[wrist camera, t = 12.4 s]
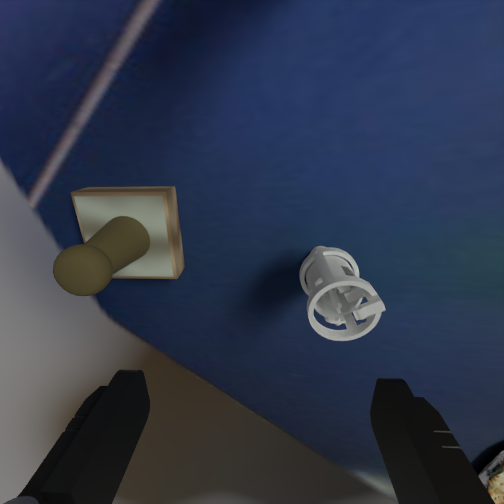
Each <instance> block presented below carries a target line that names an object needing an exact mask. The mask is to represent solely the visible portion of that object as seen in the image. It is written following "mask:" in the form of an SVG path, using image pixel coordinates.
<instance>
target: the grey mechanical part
mask: <svg viewBox="0 0 504 504" xmlns="http://www.w3.org/2000/svg"><path fill="white" fill-rule="evenodd" d="M344 258H345V259H347V260H348V261H349V262H350V263H351V265H352V269H351V267H350V265H349V264H348V262H347V261H346V260H345V259H344ZM305 272H306V274H305ZM346 273H347V275H346ZM305 275H306V281H307V284H308V286H307V285H306V283H305V281H304V276H305ZM299 276H300V282H301V286H302V288H303V290H304V291H305V293H306V294H307V295H308V296H309V298H308V302H307V313H308V317H309V321H310V324H311V326H312V327H313V329H314V330H315V331H316V332H317V333H318V334H320V335H321V336H323V337H325V338H327V339H331V340H335V341H348V340H353V339H356V338H359V337H361V336H363V335H365V334H367V333H368V332H369V331H371V330H372V329H373V328H374V327H375V325H376V324H377V322H378V321H379V319H380V316H381V312H382V311H385V306H384V304H383V302H382V300H381V299H380V297H379V296H378V294H377V293H376V292H375V290H374V289H373V287H372V286H371V284H370V283H369V282H366V281H365V280H363V279H361V278H359V269H358V266H357V264H356V263H355V261H354V260H353V258H352V257H351V256H350V255H349V254H348V253H347V252H345V251H343V250H341V249H338V248H326V247H324V246H318V247H315V248H313V249H312V250H311V252H310V255H309V256H308V257H307V258H306V259H305V260H304V261H303V263H302V265H301V268H300V273H299ZM317 285H318V286H317ZM316 286H317V287H316ZM365 296H366V298H367V300H368V301H369V302H366V303H364V304H361V305H359V304H360V303H361V301H362V298H363V297H365ZM314 308H315V309H316V311H317V312H318V313H320V314H321V315H323V316H324V317H325V320H326V322H329V323H334V324H336V325H337V326H338V325H341V324H342V323H345V325H346V327H347V330H332V329H328V328H326V327H324V326H322V325H321V324H319V323H318V322H317V321H316V319H315V318H314V316H313V311H314ZM351 312H353V314H354V316H355V318H356V320H359V319H361V320H362V319H364V318H366V322H365V323H361V324H359V325H358V326H357V324H356V322H355V320H354V318H353V316H352V314H351ZM367 316H368V317H367Z"/></svg>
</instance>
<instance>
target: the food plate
mask: <svg viewBox="0 0 504 504" xmlns="http://www.w3.org/2000/svg"><path fill="white" fill-rule="evenodd" d="M478 476H479V478H480V480H481V481H482V483H483V484H484V486H485V488H486V489H487V491H488V493H489V494H490V496H491V497H492V499H493V501H494V502H495V504H504V451H501V452H500V453H499V454H498V456H496V458H495V459H494V460H492V462H491V463H488V465H487V466H486V467H485V468H484V469H483V471H481V473H480V474H479V475H478Z"/></svg>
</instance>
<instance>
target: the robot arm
mask: <svg viewBox="0 0 504 504" xmlns="http://www.w3.org/2000/svg"><path fill="white" fill-rule="evenodd" d="M149 410H150V399H149V395H148V390H147V386H146V381H145V377H144V373H143V371H141V370H119V371H117V373H116V374H115V375H114V377H113V378H112V380H111V381H110V383H109V385H108V386H100V387H99V388H98V389H97V390H96V391H95V392H93V393H92V394H91V395H90V396H89V397H88V398H87V399H86V400H85V401H84V402H83V404H82V405H81V407H80V408H79V410H78V411H77V413H76V414H75V417H74V418H72V420H71V421H70V423H69V424H68V426H67V427H66V430H65V432H63V433H62V434H61V436H60V437H59V439H58V440H57V442H56V443H55V445H54V446H53V448H52V449H51V450H50V452H49V453H48V455H47V456H46V458H45V459H44V461H43V462H42V463H41V465H40V466H39V468H38V469H37V471H36V472H35V474H34V475H33V477H32V478H31V479H30V481H29V482H28V484H27V485H26V487H25V488H24V489H23V491H22V492H21V493H20V494H19V495H18V496H17V498H14V499H12V500H10V501H7V502H6V503H4V504H112V502H113V500H114V497H115V495H116V493H117V490H118V488H119V485H120V483H121V481H122V478H123V476H124V474H125V471H126V469H127V466H128V464H129V462H130V459H131V457H132V455H133V452H134V450H135V448H136V445H137V443H138V440H139V438H140V436H141V433H142V431H143V429H144V426H145V424H146V421H147V419H148V415H149ZM370 418H371V425H372V429H373V432H374V435H375V438H376V440H377V443H378V446H379V449H380V451H381V454H382V457H383V460H384V463H385V465H386V468H387V471H388V474H389V477H390V479H391V482H392V485H393V488H394V491H395V493H396V496H397V499H398V502H399V504H495V502H494V501H493V499H492V497H491V496H490V494H489V493H488V491H487V489H486V488H485V486H484V484H483V483H482V481H481V480H480V478H479V476H478V475H477V473H476V472H475V470H474V468H473V467H472V465H471V463H470V462H469V460H468V459H467V457H466V455H465V454H464V452H463V450H461V449H460V446H459V444H458V442H457V441H456V439H455V438H454V436H453V434H451V433H450V429H449V428H448V426H447V425H446V423H445V421H444V420H443V418H442V417H441V415H440V413H439V412H438V411H437V410H436V409H435V408H434V407H433V406H432V405H431V404H430V403H428V402H427V401H426V400H425V399H424V398H423V397H414V395H413V394H412V392H411V390H410V388H409V386H408V385H407V383H406V382H405V381H404V380H403V379H392V378H378V379H377V381H376V386H375V390H374V395H373V400H372V404H371V409H370Z"/></svg>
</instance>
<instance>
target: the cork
mask: <svg viewBox="0 0 504 504" xmlns="http://www.w3.org/2000/svg"><path fill="white" fill-rule="evenodd" d="M149 247H150V236H149V234H148V231H147V229H146V228H145V227H144V226H143V225H142V223H140V222H139V221H137V220H136V219H134V218H131V217H128V216H118V217H115V218H113V219H111V220H110V221H109V222H108V223H106V224H105V225H104V226H103V227H102V228H101V229H100V230H99V231H98V232H96V233H95V234H94V235H93V236H92V237H91V238H90V239H89V240H88V241H86V242H85V243H84V244H79V245H74V246H71V247H68V248H66V249H65V250H64V251H62V252H61V253H60V254H59V255H58V256H57V258H56V260H55V261H54V266H53V274H54V278H55V279H56V281H57V283H58V284H59V285H60V286H61V287H62V288H63V289H64V290H66V291H67V292H69V293H71V294H74V295H77V296H89V295H94V294H96V293H98V292H100V291H101V290H103V289H104V288H105V287H106V286H107V285H108V284H109V282H110V281H111V279H112V275H113V274H114V273H116V272H118V271H119V270H121V269H123V268H124V267H126V266H128V265H129V264H131V263H132V262H134V261H136V260H137V259H139V258H141V257H142V256H144V255H145V254H146V253H147V251H148V250H149Z"/></svg>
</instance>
